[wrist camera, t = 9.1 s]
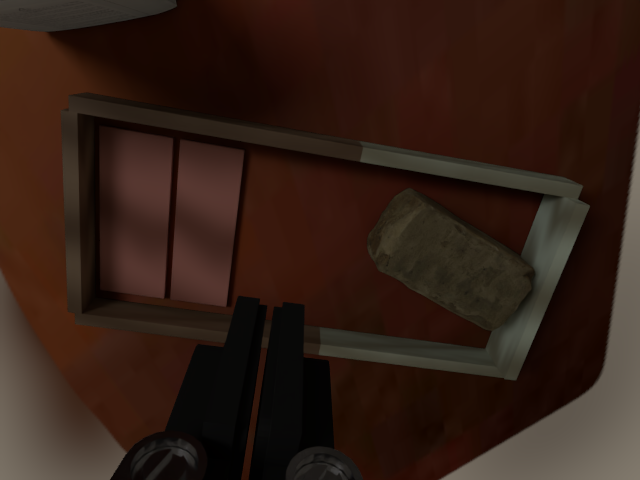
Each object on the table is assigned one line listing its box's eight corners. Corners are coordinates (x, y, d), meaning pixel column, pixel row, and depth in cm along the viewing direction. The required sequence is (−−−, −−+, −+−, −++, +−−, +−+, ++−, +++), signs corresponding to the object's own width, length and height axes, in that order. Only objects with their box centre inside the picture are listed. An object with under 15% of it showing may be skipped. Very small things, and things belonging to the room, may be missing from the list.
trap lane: (78, 91, 30) (47, 95, 26) (563, 177, 34) (596, 191, 30) (83, 306, 36) (58, 334, 33) (492, 359, 40) (511, 390, 36)
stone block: (474, 305, 38) (498, 340, 33) (357, 241, 35) (366, 270, 31) (519, 249, 36) (551, 277, 31) (399, 178, 34) (415, 197, 29)
